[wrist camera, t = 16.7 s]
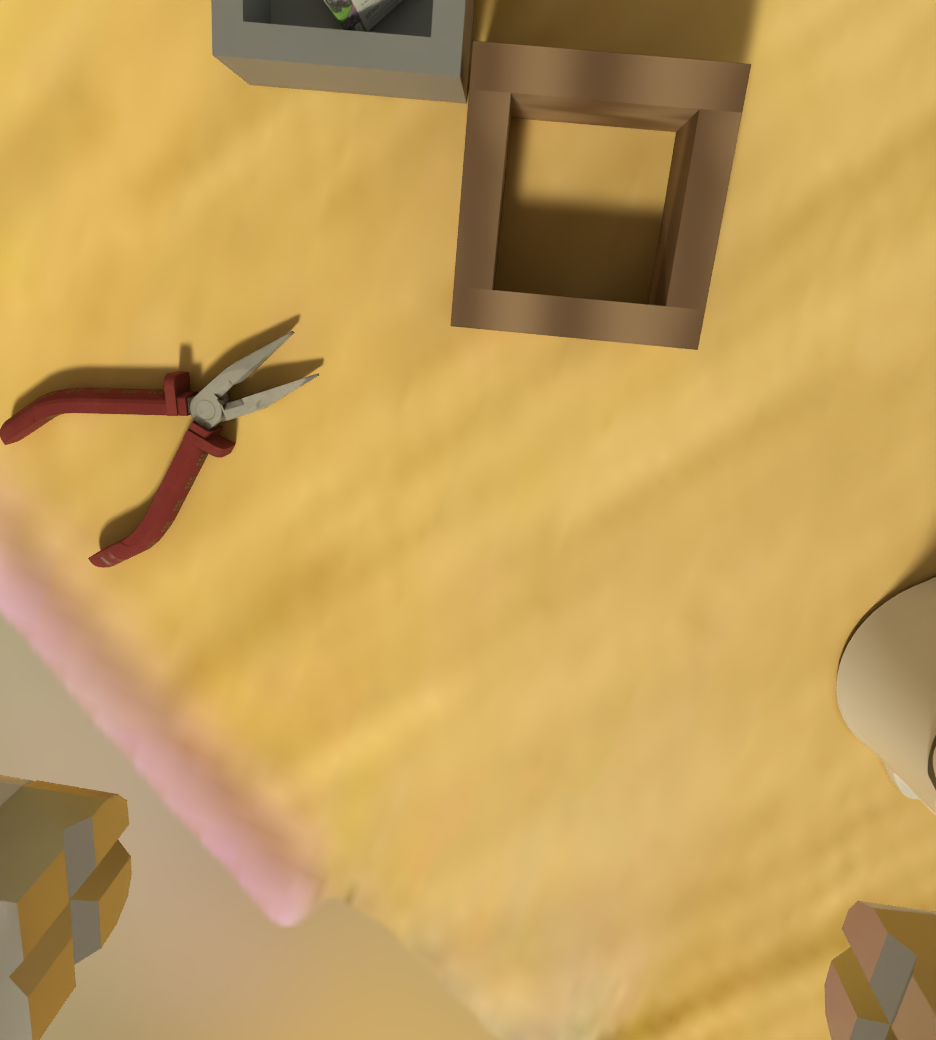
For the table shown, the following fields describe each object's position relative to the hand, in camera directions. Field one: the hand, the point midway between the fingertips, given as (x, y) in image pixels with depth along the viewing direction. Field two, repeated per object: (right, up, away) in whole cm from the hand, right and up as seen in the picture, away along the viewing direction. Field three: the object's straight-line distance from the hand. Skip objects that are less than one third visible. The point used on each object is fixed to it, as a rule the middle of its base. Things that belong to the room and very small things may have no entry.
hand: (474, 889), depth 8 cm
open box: (+6, +21, +32) cm, 39 cm away
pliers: (-19, +9, +38) cm, 43 cm away
